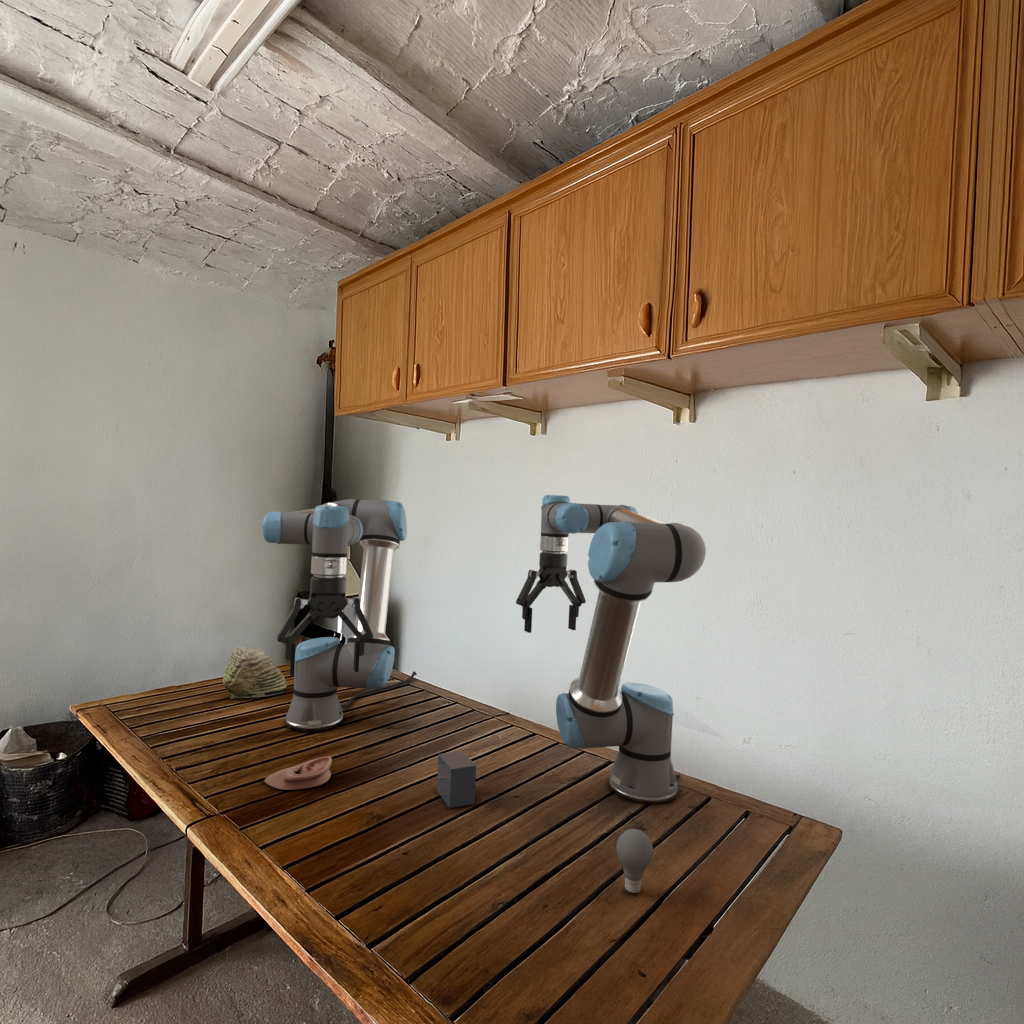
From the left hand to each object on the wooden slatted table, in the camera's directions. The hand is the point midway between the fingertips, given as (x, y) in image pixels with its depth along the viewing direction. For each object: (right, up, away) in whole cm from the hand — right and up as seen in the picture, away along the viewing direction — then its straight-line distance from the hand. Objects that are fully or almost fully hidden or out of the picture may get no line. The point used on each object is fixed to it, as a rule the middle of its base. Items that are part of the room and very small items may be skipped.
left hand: (324, 672), depth 139 cm
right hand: (+52, +3, +32) cm, 61 cm away
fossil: (-39, -22, +59) cm, 74 cm away
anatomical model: (-6, -25, +2) cm, 25 cm away
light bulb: (+61, -28, -33) cm, 75 cm away
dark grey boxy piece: (+29, -26, -3) cm, 39 cm away
